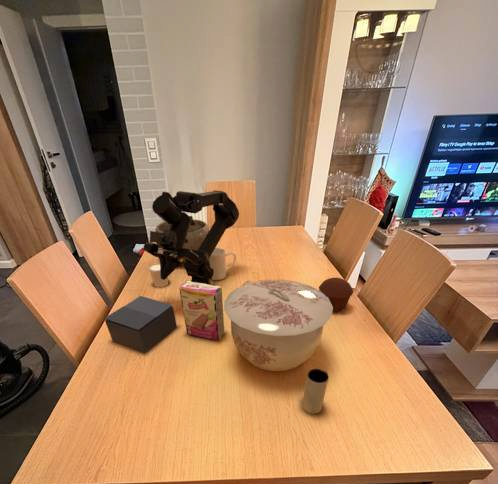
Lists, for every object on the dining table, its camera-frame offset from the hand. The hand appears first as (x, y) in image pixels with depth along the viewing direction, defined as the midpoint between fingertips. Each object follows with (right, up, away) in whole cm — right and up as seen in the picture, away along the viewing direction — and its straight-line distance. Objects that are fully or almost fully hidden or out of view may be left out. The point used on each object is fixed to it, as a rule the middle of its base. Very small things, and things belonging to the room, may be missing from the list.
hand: (162, 279), depth 94 cm
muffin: (+57, -7, +13) cm, 59 cm away
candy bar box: (+14, -18, 0) cm, 22 cm away
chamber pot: (+35, -24, -7) cm, 43 cm away
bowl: (-2, +22, +46) cm, 51 cm away
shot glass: (-8, +5, +27) cm, 28 cm away
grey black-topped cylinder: (+42, -37, -23) cm, 60 cm away
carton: (-5, -17, 0) cm, 18 cm away
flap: (-4, -9, -2) cm, 10 cm away
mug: (+16, +10, +32) cm, 37 cm away
